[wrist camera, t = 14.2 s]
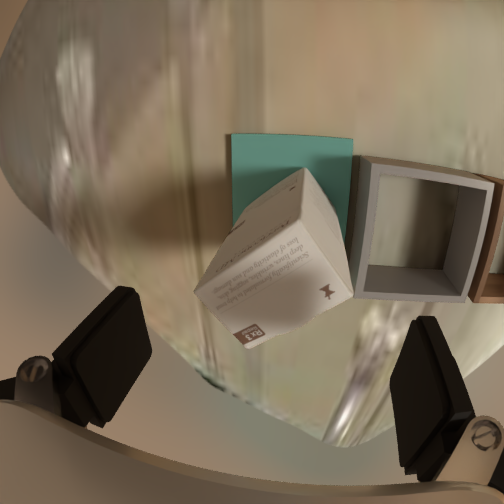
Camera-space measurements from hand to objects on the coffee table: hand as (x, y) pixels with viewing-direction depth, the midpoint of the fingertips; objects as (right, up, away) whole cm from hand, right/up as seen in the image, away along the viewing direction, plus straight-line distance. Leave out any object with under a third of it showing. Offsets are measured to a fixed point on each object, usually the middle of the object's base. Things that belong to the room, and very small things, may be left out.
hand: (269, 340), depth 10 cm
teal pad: (+2, +6, +14) cm, 16 cm away
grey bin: (+12, +5, +13) cm, 19 cm away
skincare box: (+2, +6, +14) cm, 15 cm away
